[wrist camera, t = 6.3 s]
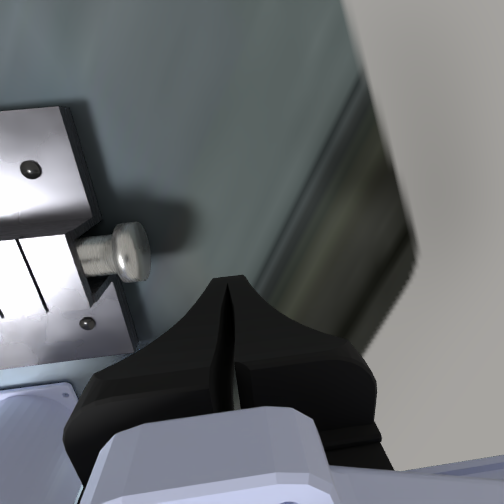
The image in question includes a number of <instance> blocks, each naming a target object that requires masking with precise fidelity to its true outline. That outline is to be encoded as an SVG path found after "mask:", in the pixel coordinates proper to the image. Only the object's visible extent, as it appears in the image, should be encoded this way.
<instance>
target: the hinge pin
mask: <svg viewBox="0 0 504 504" xmlns="http://www.w3.org/2000/svg"><path fill="white" fill-rule="evenodd" d="M73 241H74V244H75V247H76V250H77V252H78V255H79V258H80V261H81V264H82V267H83V270H84V273H85V276H86V277H95V276H104V275H112V274H118V275H119V277H120V278H121V280H122V281H124V282H125V283H129V282H138V281H145V280H147V279H148V277H149V274H150V269H151V253H150V246H149V241H148V237H147V234H146V231H145V229H144V227H143V226H142V224H141V223H140V222H129V223H120V224H117V225H116V227H115V228H114V231H113V234H112V235H103V236H93V237H84V238H76V239H75V240H73Z"/></svg>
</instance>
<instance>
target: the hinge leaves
mask: <svg viewBox="0 0 504 504" xmlns="http://www.w3.org/2000/svg"><path fill="white" fill-rule="evenodd" d="M101 220H102V216H101V213H100V209H99V206H98V202H97V199H96V196H95V192H94V189H93V185H92V182H91V179H90V175H89V172H88V169H87V165H86V162H85V158H84V155H83V152H82V148H81V145H80V141H79V138H78V135H77V131H76V128H75V125H74V121H73V118H72V114H71V111H70V108H67V107H60V106H56V107H45V108H33V109H22V110H10V111H0V370H2V369H9V368H17V367H25V366H33V365H41V364H48V363H56V362H64V361H72V360H80V359H87V358H95V357H103V356H111V355H119V354H126V353H134V352H135V350H136V347H137V345H138V342H139V341H138V338H137V334H136V331H135V328H134V324H133V321H132V317H131V314H130V311H129V307H128V304H127V301H126V297H125V294H124V290H123V287H122V284H121V280H120V277H119V275H118V274H112V275H104V276H95V277H86V276H85V273H84V270H83V267H82V264H81V261H80V258H79V255H78V252H77V250H76V247H75V244H74V241H73V240H75V239H76V238H78V237H79V236H81V235H82V234H83V233H85V232H86V231H87V230H89V229H90V228H91V227H93V226H94V225H96V224H97V223H98V222H100V221H101Z"/></svg>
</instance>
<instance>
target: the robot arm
mask: <svg viewBox="0 0 504 504" xmlns="http://www.w3.org/2000/svg"><path fill="white" fill-rule="evenodd" d="M234 355H235V357H234ZM234 364H235V371H236V378H237V385H238V392H239V399H240V406H241V410H234V403H233V378H234ZM376 397H377V384H376V380H375V378H374V376H373V373H372V372H371V370H370V368H369V367H368V365H367V363H366V362H365V360H364V359H363V358H362V356H361V355H360V354H359V352H358V351H357V350H356V349H355V348H354V346H353V345H352V344H351V343H350V342H349V340H347V339H344V338H340V337H336V336H332V335H329V334H325V333H322V332H319V331H317V330H314V329H311V328H309V327H306V326H304V325H302V324H300V323H298V322H296V321H294V320H292V319H290V318H288V317H286V316H285V315H283V314H282V313H280V312H279V311H277V310H276V309H274V308H273V307H272V306H271V305H270V304H269V303H267V302H266V301H265V300H264V299H263V298H262V297H261V296H260V295H259V294H258V293H257V292H256V291H255V289H254V288H253V287H252V286H251V285H250V283H249V282H248V280H247V279H246V277H245V276H244V275H237V276H228V277H220V278H213V279H212V280H211V282H210V283H209V285H208V286H207V288H206V289H205V291H204V292H203V294H202V295H201V296H200V298H199V299H198V300H197V302H196V303H195V304H194V305H193V307H192V308H191V309H190V310H189V311H188V312H187V313H186V315H185V316H184V317H183V318H182V319H181V320H180V321H178V322H177V323H176V324H175V325H174V326H173V327H172V328H171V329H169V330H168V331H167V332H165V333H164V334H163V335H161V336H160V337H159V338H157V339H156V340H155V341H153V342H152V343H150V344H149V345H147V346H146V347H144V348H143V349H141V350H139V351H138V352H136V353H134V354H133V355H131V356H129V357H127V358H125V359H124V360H122V361H120V362H118V363H116V364H114V365H112V366H109V367H107V368H105V369H103V370H101V371H99V372H97V373H95V374H93V376H92V378H91V379H90V381H89V382H88V384H87V386H86V387H85V389H84V391H83V393H82V395H81V396H80V398H79V400H78V399H77V396H76V394H75V392H74V389H73V387H72V385H71V384H69V383H67V382H62V383H55V384H47V385H40V386H32V387H24V388H17V389H9V390H2V391H0V504H74V502H75V500H76V497H77V495H78V492H79V490H80V487H81V485H83V490H82V492H81V495H80V497H79V500H78V503H77V504H504V455H500V456H493V457H487V458H481V459H475V460H468V461H462V462H456V463H449V464H443V465H437V466H431V467H424V468H419V469H412V470H406V471H394V469H393V467H392V465H391V463H390V461H389V459H388V457H387V455H386V454H385V451H384V449H383V447H382V445H381V443H380V442H381V440H382V437H381V433H380V432H379V429H378V428H377V426H376V424H375V422H374V415H375V407H376Z"/></svg>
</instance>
